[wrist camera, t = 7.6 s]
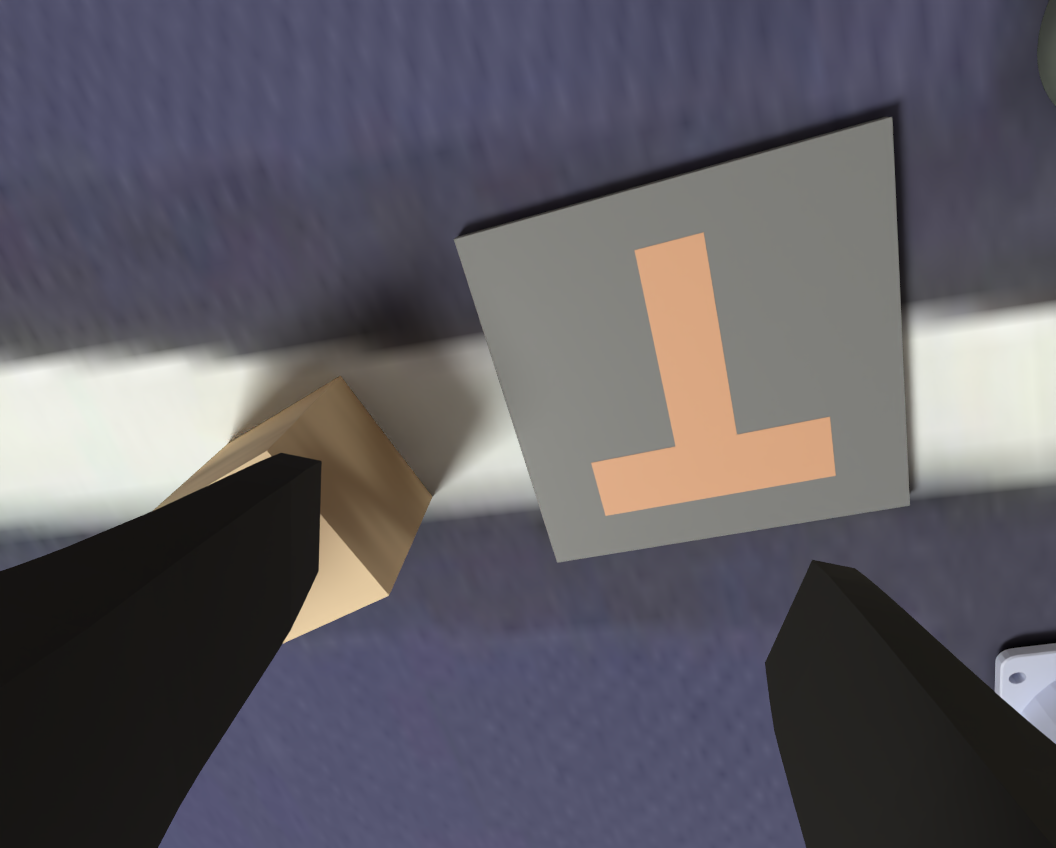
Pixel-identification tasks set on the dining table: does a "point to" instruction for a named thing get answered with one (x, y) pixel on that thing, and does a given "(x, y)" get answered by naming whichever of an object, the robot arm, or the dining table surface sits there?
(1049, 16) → the sage cylinder
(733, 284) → the letter tile
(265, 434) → the oak block
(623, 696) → the dining table surface
